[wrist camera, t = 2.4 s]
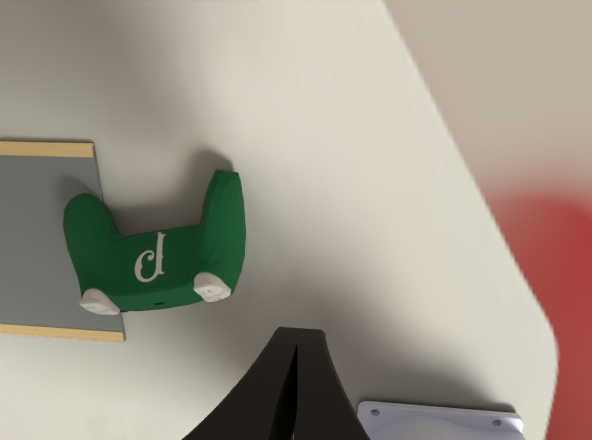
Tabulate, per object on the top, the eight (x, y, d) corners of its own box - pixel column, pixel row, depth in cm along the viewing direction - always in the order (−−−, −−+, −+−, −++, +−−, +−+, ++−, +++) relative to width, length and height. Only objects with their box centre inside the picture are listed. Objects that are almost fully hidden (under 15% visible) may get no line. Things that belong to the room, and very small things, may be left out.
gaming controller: (108, 222, 21) (90, 324, 19) (60, 190, 18) (30, 309, 15) (256, 197, 20) (260, 301, 17) (234, 158, 17) (235, 280, 14)
